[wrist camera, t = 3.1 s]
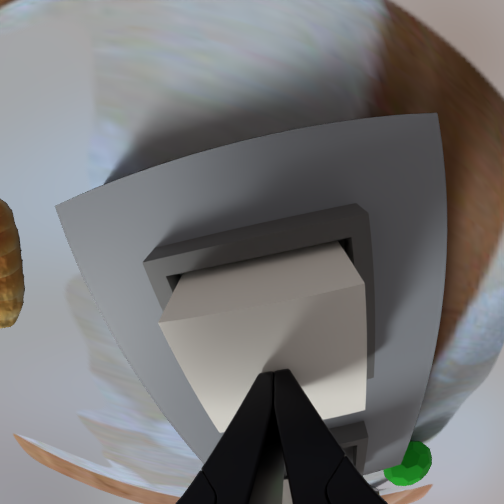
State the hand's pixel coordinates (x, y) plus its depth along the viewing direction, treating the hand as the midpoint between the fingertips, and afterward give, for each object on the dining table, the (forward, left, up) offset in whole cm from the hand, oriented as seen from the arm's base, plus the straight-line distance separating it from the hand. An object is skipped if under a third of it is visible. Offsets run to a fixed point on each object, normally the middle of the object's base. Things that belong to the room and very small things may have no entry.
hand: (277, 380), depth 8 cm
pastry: (+4, +19, -8) cm, 21 cm away
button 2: (0, 0, -3) cm, 3 cm away
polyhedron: (-23, -9, -8) cm, 26 cm away
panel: (-6, 0, -7) cm, 9 cm away
